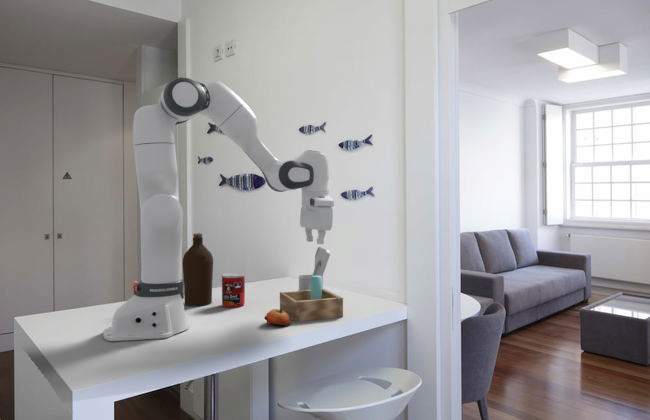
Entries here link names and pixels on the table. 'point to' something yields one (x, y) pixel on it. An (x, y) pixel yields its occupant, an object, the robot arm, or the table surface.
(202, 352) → the table surface
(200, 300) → the olive oil
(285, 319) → the tomato
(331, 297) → the box
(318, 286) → the peg
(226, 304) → the canned food
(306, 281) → the phone holder
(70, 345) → the table surface
